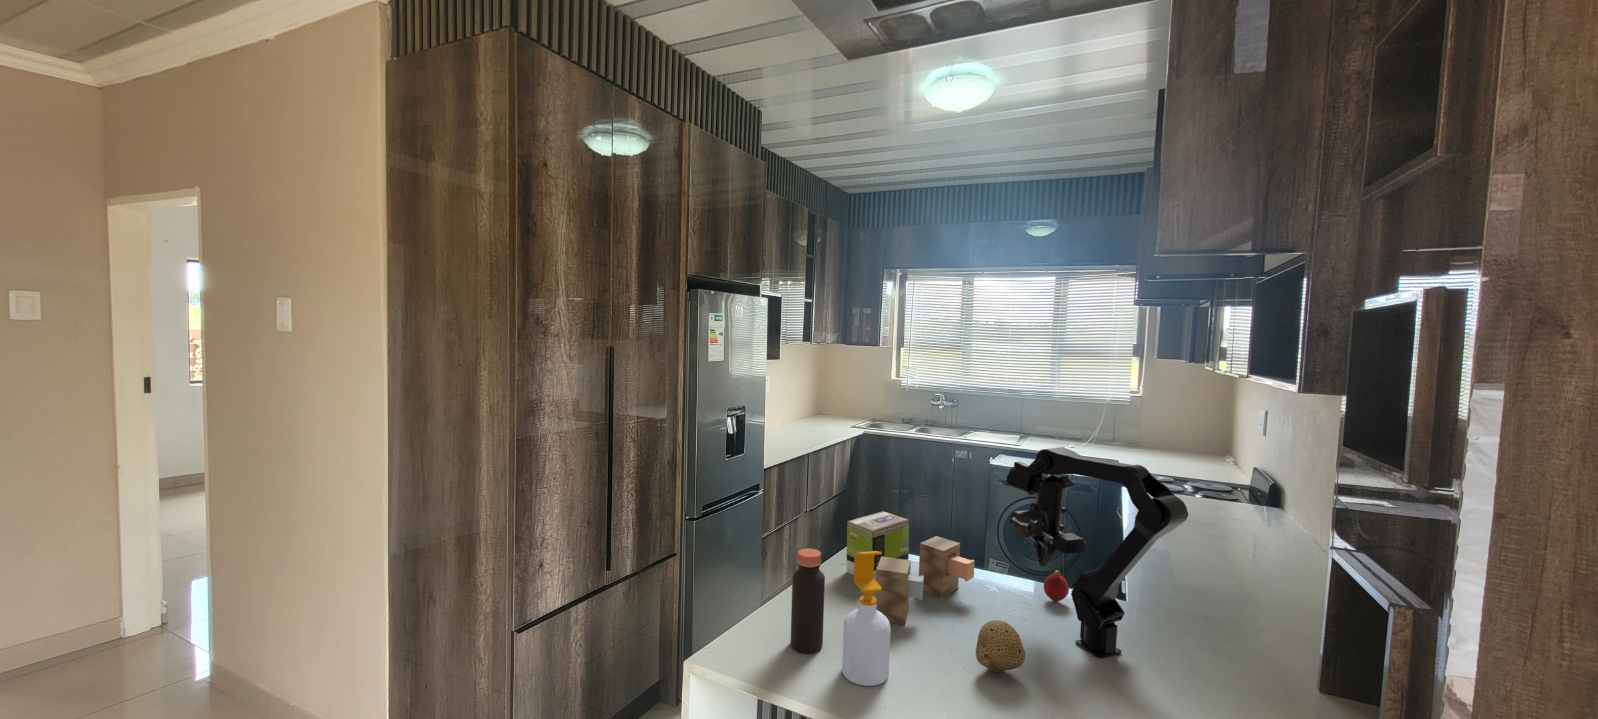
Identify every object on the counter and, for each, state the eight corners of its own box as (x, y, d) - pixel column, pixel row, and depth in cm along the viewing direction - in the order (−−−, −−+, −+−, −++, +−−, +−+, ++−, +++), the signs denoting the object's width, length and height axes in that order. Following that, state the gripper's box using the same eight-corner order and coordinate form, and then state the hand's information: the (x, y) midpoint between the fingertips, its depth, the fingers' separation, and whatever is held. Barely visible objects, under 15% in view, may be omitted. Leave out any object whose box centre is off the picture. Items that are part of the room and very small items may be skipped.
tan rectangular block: (973, 577, 150) (974, 560, 150) (967, 581, 148) (967, 563, 148) (946, 568, 156) (947, 551, 155) (940, 571, 153) (940, 554, 153)
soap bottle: (851, 690, 111) (856, 560, 110) (835, 663, 120) (840, 542, 118) (896, 684, 113) (901, 557, 112) (877, 657, 122) (882, 539, 121)
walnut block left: (908, 609, 144) (910, 560, 143) (905, 625, 136) (907, 573, 135) (879, 604, 146) (881, 556, 145) (874, 619, 138) (876, 569, 137)
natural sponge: (1032, 673, 118) (1034, 624, 118) (1010, 691, 112) (1012, 640, 111) (989, 654, 125) (992, 607, 124) (967, 670, 119) (969, 621, 118)
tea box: (882, 559, 174) (884, 509, 173) (909, 571, 166) (911, 519, 165) (844, 572, 164) (846, 519, 163) (871, 585, 157) (873, 529, 156)
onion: (1064, 609, 146) (1066, 577, 145) (1040, 602, 149) (1041, 571, 149) (1070, 601, 150) (1072, 570, 150) (1046, 594, 154) (1048, 564, 154)
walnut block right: (958, 588, 156) (960, 543, 155) (941, 597, 150) (944, 550, 150) (934, 579, 161) (936, 535, 160) (918, 588, 155) (920, 543, 155)
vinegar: (825, 640, 128) (828, 548, 127) (818, 656, 122) (821, 560, 121) (795, 634, 130) (798, 544, 129) (786, 650, 124) (789, 556, 123)
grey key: (923, 593, 140) (923, 575, 140) (921, 600, 137) (922, 581, 137) (890, 588, 142) (891, 570, 142) (888, 595, 139) (889, 576, 139)
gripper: (994, 489, 145) (988, 551, 146) (1049, 518, 127) (1042, 588, 129) (1032, 487, 148) (1026, 548, 150) (1091, 515, 131) (1083, 583, 132)
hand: (1042, 565), depth 140 cm, fingers closed
